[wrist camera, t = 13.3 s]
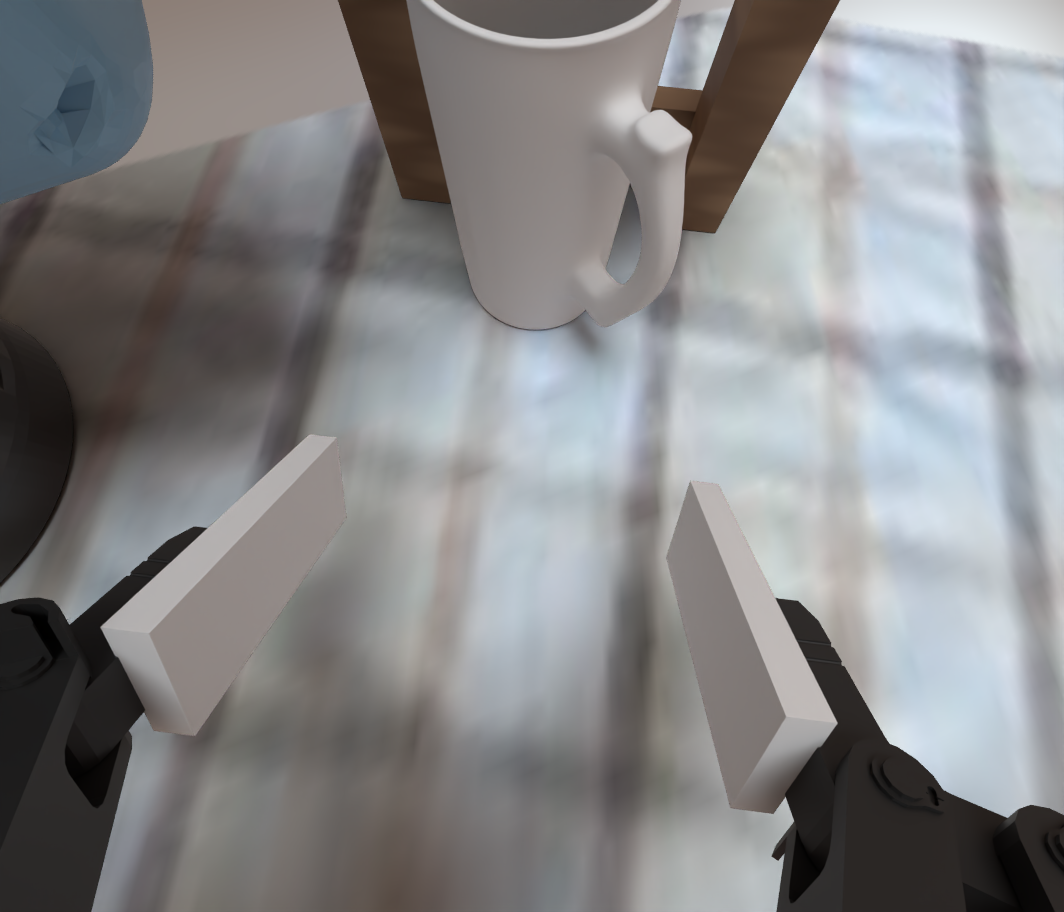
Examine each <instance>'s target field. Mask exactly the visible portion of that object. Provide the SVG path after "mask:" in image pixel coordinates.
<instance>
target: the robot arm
mask: <svg viewBox="0 0 1064 912" xmlns="http://www.w3.org/2000/svg"><path fill="white" fill-rule="evenodd" d="M152 88H153V62H152V54H151V46H150V38H149V32H148V27H147V22H146V18H145V14H144V9H143V5H142V0H0V204H3V203H6V202H9V201H12V200H15V199H18V198H21V197H24V196H27V195H30V194H33V193H36V192H39V191H43V190H46V189H49V188H52V187H55V186H58V185H61V184H64V183H67V182H70V181H73V180H76V179H79V178H82V177H85V176H88V175H91V174H94V173H96V172H99V171H101V170H103V169H105V168H107V167H109V166H111V165H112V164H114V163H116V162H117V161H118V160H119V159H121V158H122V157H123V156H124V155H126V154H127V153H128V151H129V150H130V149H131V148H132V147H133V145H134V144H135V143H136V142H137V140H138V139H139V137H140V135H141V133H142V131H143V129H144V127H145V124H146V122H147V119H148V115H149V111H150V107H151V102H152ZM72 441H73V417H72V409H71V402H70V398H69V394H68V390H67V387H66V384H65V381H64V379H63V377H62V375H61V372H60V371H59V369H58V367H57V365H56V363H55V362H54V360H53V359H52V358H51V356H50V355H49V353H48V352H47V351H46V350H45V349H44V348H43V347H42V345H41V344H39V343H38V342H37V341H36V340H35V339H34V338H33V337H32V336H30V335H29V334H28V333H27V332H25V331H24V330H22V329H20V328H19V327H17V326H16V325H14V324H12V323H10V322H8V321H6V320H4V319H2V318H0V582H1V581H2V580H3V579H4V578H5V577H6V576H7V575H8V574H9V573H10V572H11V571H12V569H13V568H14V567H15V566H16V565H17V564H18V562H19V561H20V560H21V559H22V557H23V556H24V555H25V554H26V552H27V551H28V550H29V548H30V547H31V545H32V544H33V542H34V541H35V539H36V538H37V537H38V535H39V533H40V532H41V530H42V528H43V527H44V525H45V523H46V522H47V520H48V518H49V516H50V514H51V512H52V510H53V508H54V506H55V504H56V501H57V499H58V497H59V494H60V492H61V489H62V486H63V483H64V480H65V477H66V473H67V470H68V466H69V461H70V456H71V449H72ZM346 518H347V517H346V508H345V500H344V492H343V484H342V475H341V467H340V459H339V451H338V443H337V438H336V437H328V436H320V435H312V434H309V435H308V436H307V437H306V438H305V439H304V440H303V441H302V442H301V443H300V444H298V445H297V446H296V447H295V448H294V449H293V450H292V451H291V452H290V453H289V454H288V455H287V456H285V457H284V458H283V459H282V460H281V461H280V462H279V463H278V464H277V465H276V466H275V467H274V468H272V469H271V470H270V471H269V472H268V473H267V474H266V475H265V476H264V477H263V478H262V479H261V480H259V481H258V482H257V483H256V484H255V485H254V486H253V487H252V488H251V489H250V490H249V491H247V492H246V493H245V494H244V495H243V496H242V497H241V498H240V499H239V500H238V501H237V502H236V503H234V504H233V505H232V506H231V507H230V508H229V509H228V510H227V511H226V512H225V513H224V514H223V515H221V516H220V517H219V518H218V519H217V520H216V521H215V522H214V523H213V524H212V525H211V526H210V527H208V528H202V527H192V528H190V529H188V530H187V531H185V532H183V533H181V534H179V535H177V536H175V537H173V538H171V539H169V540H168V541H166V542H165V543H164V544H163V545H162V546H161V547H159V548H158V549H157V550H156V551H155V552H154V553H152V554H151V555H150V556H149V557H148V560H147V561H143V562H142V563H141V564H140V565H139V566H137V567H136V568H135V569H134V570H133V571H132V572H131V575H130V576H126V577H125V578H123V579H122V580H121V581H120V582H119V583H118V584H116V585H115V586H114V587H113V588H112V589H111V590H110V591H108V592H107V593H106V594H105V595H104V596H103V597H101V598H100V599H99V600H98V601H97V602H96V603H94V604H93V605H92V606H91V607H90V608H89V609H87V610H86V611H85V612H84V613H83V614H82V615H80V616H79V617H78V618H77V619H76V620H75V621H74V622H72V623H71V624H70V625H69V624H68V622H67V620H66V618H65V616H64V615H63V613H62V611H61V609H60V608H59V607H58V606H57V605H56V604H55V602H54V601H52V600H47V599H43V598H28V599H18V600H14V601H10V602H7V603H3V604H0V912H91V910H92V906H93V902H94V898H95V894H96V890H97V886H98V882H99V878H100V874H101V870H102V866H103V862H104V858H105V854H106V850H107V846H108V842H109V838H110V834H111V830H112V826H113V822H114V818H115V814H116V810H117V806H118V802H119V798H120V794H121V790H122V786H123V782H124V778H125V774H126V770H127V766H128V762H129V758H130V754H131V750H132V736H131V734H130V732H129V729H130V728H131V727H132V726H133V724H134V723H135V722H136V721H137V720H138V718H139V717H140V716H141V715H142V713H143V712H144V713H145V715H146V717H147V719H148V720H149V722H150V724H151V726H152V728H153V730H154V731H159V732H167V733H174V734H182V735H189V736H195V735H196V734H197V733H198V731H199V730H200V728H201V727H202V725H203V724H204V722H205V721H206V720H207V718H208V717H209V715H210V714H211V712H212V711H213V709H214V708H215V707H216V705H217V704H218V702H219V701H220V699H221V698H222V697H223V695H224V694H225V692H226V691H227V689H228V688H229V686H230V685H231V684H232V682H233V681H234V679H235V678H236V676H237V675H238V673H239V672H240V671H241V669H242V668H243V666H244V665H245V663H246V662H247V660H248V659H249V658H250V656H251V655H252V653H253V652H254V650H255V649H256V647H257V646H258V645H259V643H260V642H261V640H262V639H263V637H264V636H265V635H266V633H267V632H268V630H269V629H270V627H271V626H272V624H273V623H274V622H275V620H276V619H277V617H278V616H279V614H280V613H281V611H282V610H283V609H284V607H285V606H286V604H287V603H288V601H289V600H290V598H291V597H292V596H293V594H294V593H295V591H296V590H297V588H298V587H299V585H300V584H301V583H302V581H303V580H304V578H305V577H306V575H307V574H308V573H309V571H310V570H311V568H312V567H313V565H314V564H315V562H316V561H317V560H318V558H319V557H320V555H321V554H322V552H323V551H324V549H325V548H326V547H327V545H328V544H329V542H330V541H331V539H332V538H333V536H334V535H335V534H336V532H337V531H338V529H339V528H340V526H341V525H342V523H343V522H344V521H345V519H346ZM666 558H667V562H668V566H669V570H670V574H671V578H672V582H673V586H674V589H675V593H676V597H677V601H678V605H679V609H680V613H681V617H682V621H683V625H684V629H685V632H686V636H687V640H688V644H689V648H690V652H691V656H692V660H693V664H694V668H695V672H696V675H697V679H698V683H699V687H700V691H701V695H702V699H703V703H704V707H705V711H706V714H707V718H708V722H709V726H710V730H711V734H712V738H713V742H714V746H715V750H716V754H717V757H718V761H719V765H720V769H721V773H722V777H723V781H724V785H725V789H726V793H727V796H728V800H729V804H730V808H734V809H741V810H749V811H756V812H764V813H771V814H774V812H775V811H776V809H777V808H778V807H779V805H780V804H781V802H782V801H783V800H784V798H785V797H786V799H787V802H788V804H789V807H790V810H791V813H792V816H793V819H794V823H793V824H792V825H791V826H790V828H789V829H788V830H787V832H786V833H785V834H784V836H783V837H782V838H781V840H780V841H779V842H778V843H777V845H776V847H775V849H774V852H773V854H772V857H773V858H775V859H776V860H779V859H780V858H781V857H782V855H783V854H784V853H785V855H784V862H783V869H782V876H781V883H780V891H779V898H778V905H777V912H1064V815H1062V814H1060V813H1058V812H1056V811H1054V810H1052V809H1050V808H1044V807H1039V806H1034V805H1029V806H1026V807H1023V808H1020V809H1018V810H1017V811H1016V812H1015V813H1013V814H1012V815H1011V816H1010V817H1009V818H1006V817H1004V816H1001V815H999V814H997V813H994V812H992V811H990V810H987V809H985V808H983V807H980V806H978V805H975V804H973V803H971V802H968V801H966V800H964V799H961V798H959V797H957V796H954V795H952V794H950V793H948V792H946V791H944V790H943V789H942V788H941V786H940V785H939V783H938V782H937V780H936V779H935V778H934V776H933V775H932V774H931V773H930V772H929V771H928V770H927V769H926V768H925V767H924V766H923V765H921V764H920V763H919V762H918V761H917V760H916V759H915V758H913V757H912V756H910V755H909V754H907V753H906V752H904V751H903V750H901V749H900V748H898V747H896V746H894V745H891V744H889V742H888V741H887V739H886V738H885V736H884V735H883V733H882V731H881V729H880V728H879V726H878V724H877V722H876V721H875V719H874V717H873V715H872V714H871V712H870V710H869V708H868V707H867V705H866V703H865V701H864V700H863V698H862V696H861V694H860V693H859V691H858V689H857V687H856V686H855V684H854V682H853V680H852V679H851V677H850V675H849V673H848V672H847V670H846V668H845V666H842V665H841V662H842V661H841V659H840V658H839V656H838V654H837V652H836V651H835V649H834V648H833V647H831V642H830V640H829V638H828V637H827V635H826V633H825V631H824V630H823V628H822V626H821V624H820V623H819V621H818V620H817V619H816V618H815V617H814V616H813V615H812V614H811V613H810V612H809V611H808V610H807V609H806V608H805V607H804V606H803V605H802V604H801V603H800V602H799V601H794V600H786V599H778V598H775V597H774V595H773V593H772V591H771V589H770V587H769V585H768V583H767V581H766V579H765V577H764V575H763V573H762V571H761V569H760V567H759V565H758V563H757V561H756V559H755V557H754V555H753V553H752V551H751V548H750V546H749V544H748V542H747V540H746V538H745V536H744V534H743V532H742V530H741V528H740V526H739V524H738V522H737V520H736V518H735V516H734V514H733V512H732V510H731V508H730V506H729V504H728V502H727V500H726V498H725V496H724V494H723V492H722V490H721V488H720V486H719V484H714V483H706V482H698V481H690V483H689V486H688V489H687V493H686V496H685V499H684V502H683V505H682V509H681V512H680V515H679V518H678V522H677V525H676V528H675V531H674V534H673V538H672V541H671V544H670V547H669V550H668V554H667V557H666Z"/></svg>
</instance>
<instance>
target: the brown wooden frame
mask: <svg viewBox="0 0 1064 912" xmlns="http://www.w3.org/2000/svg"><path fill="white" fill-rule="evenodd" d="M839 1H840V0H735V1H734V4H733V7H732V10H731V13H730V15H729V18H728V21H727V24H726V27H725V29H724V32H723V35H722V38H721V41H720V43H719V46H718V49H717V52H716V55H715V58H714V60H713V63H712V66H711V69H710V72H709V74H708V77H707V80H706V83H705V86H704V88H703V91H702V90H692V89H683V88H673V87H664V86H658V87H657V90H656V94H655V97H654V101H653V104H652V108H651V111H650V112H653V111H655V110H664V111H666V112H667V113H668V114H670V115H671V116H672V117H673V118H674V119H675V120H676V121H677V122H678V123H679V124H680V125H682V126H683V127H685V128H686V129H688V130H689V131H690V132H691V134H692V141H691V144H690V147H689V150H688V153H687V158H686V166H685V189H684V212H683V224H682V229H684V230H693V231H702V232H711V233H715V232H716V231H717V229H718V227H719V225H720V223H721V221H722V219H723V218H724V216H725V214H726V212H727V210H728V208H729V206H730V204H731V203H732V201H733V199H734V197H735V195H736V193H737V191H738V190H739V188H740V186H741V184H742V182H743V180H744V178H745V176H746V175H747V173H748V171H749V169H750V167H751V165H752V163H753V162H754V160H755V158H756V156H757V154H758V152H759V150H760V149H761V147H762V145H763V143H764V141H765V139H766V137H767V135H768V134H769V132H770V130H771V128H772V126H773V124H774V122H775V121H776V119H777V117H778V115H779V113H780V111H781V109H782V107H783V106H784V104H785V102H786V100H787V98H788V96H789V94H790V93H791V91H792V89H793V87H794V85H795V83H796V81H797V79H798V78H799V76H800V74H801V72H802V70H803V68H804V66H805V65H806V63H807V61H808V59H809V57H810V55H811V53H812V52H813V50H814V48H815V46H816V44H817V42H818V40H819V38H820V37H821V35H822V33H823V31H824V29H825V27H826V25H827V24H828V22H829V20H830V18H831V16H832V14H833V12H834V10H835V9H836V7H837V5H838V3H839ZM338 2H339V5H340V8H341V11H342V14H343V17H344V20H345V23H346V26H347V30H348V32H349V36H350V39H351V42H352V45H353V48H354V51H355V54H356V57H357V60H358V63H359V66H360V70H361V72H362V75H363V79H364V82H365V85H366V88H367V91H368V94H369V97H370V100H371V103H372V106H373V110H374V113H375V116H376V119H377V122H378V125H379V128H380V131H381V134H382V137H383V140H384V143H385V146H386V150H387V153H388V156H389V159H390V162H391V165H392V168H393V171H394V174H395V177H396V180H397V183H398V186H399V190H400V193H401V196H402V198H407V199H416V200H425V201H434V202H443V203H451V200H450V195H449V191H448V187H447V182H446V178H445V174H444V169H443V165H442V161H441V156H440V152H439V148H438V143H437V139H436V135H435V131H434V126H433V122H432V118H431V113H430V109H429V105H428V100H427V96H426V92H425V88H424V83H423V79H422V74H421V70H420V66H419V61H418V57H417V52H416V48H415V43H414V38H413V33H412V28H411V22H410V17H409V12H408V7H407V1H406V0H338ZM630 185H631V184H630Z"/></svg>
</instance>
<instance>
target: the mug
mask: <svg viewBox="0 0 1064 912" xmlns="http://www.w3.org/2000/svg"><path fill="white" fill-rule="evenodd" d="M406 1H407V7H408V12H409V17H410V22H411V28H412V33H413V38H414V43H415V48H416V52H417V57H418V61H419V66H420V70H421V74H422V79H423V83H424V88H425V92H426V96H427V100H428V105H429V109H430V113H431V118H432V122H433V126H434V131H435V135H436V139H437V143H438V148H439V152H440V156H441V161H442V165H443V169H444V174H445V178H446V182H447V187H448V191H449V195H450V200H451V204H452V209H453V213H454V218H455V222H456V226H457V231H458V236H459V240H460V244H461V248H462V252H463V256H464V260H465V264H466V267H467V271H468V275H469V280H470V283H471V287H472V289H473V292H474V294H475V296H476V298H477V299H478V301H479V302H480V304H481V305H482V306H483V307H484V308H485V309H486V310H487V311H488V312H489V313H490V314H491V315H492V316H494V317H495V318H497V319H498V320H500V321H502V322H504V323H506V324H509V325H511V326H514V327H518V328H523V329H531V330H541V329H549V328H554V327H558V326H561V325H563V324H566V323H568V322H570V321H572V320H573V319H575V318H577V317H578V316H579V315H581V314H582V313H583V312H584V311H585V310H586V311H587V312H588V314H589V315H590V316H591V318H592V319H593V320H594V321H595V323H596V324H597V325H599V326H601V327H608V326H611V325H613V324H615V323H617V322H619V321H621V320H623V319H624V318H626V317H628V316H630V315H632V314H634V313H636V312H637V311H639V310H641V309H643V308H644V307H646V306H647V305H649V304H650V303H651V302H652V301H654V300H655V299H656V298H657V296H658V295H659V294H660V293H661V292H662V290H663V289H664V287H665V286H666V284H667V282H668V281H669V278H670V276H671V274H672V271H673V269H674V266H675V263H676V259H677V256H678V251H679V246H680V240H681V233H682V224H683V212H684V189H685V166H686V158H687V153H688V150H689V147H690V144H691V141H692V134H691V132H690V131H689V130H688V129H686V128H685V127H683V126H682V125H680V124H679V123H678V122H677V121H676V120H675V119H674V118H673V117H672V116H671V115H670V114H668V113H667V112H666V111H664V110H655V111H653V112H650V111H651V108H652V104H653V101H654V97H655V94H656V90H657V87H658V83H659V80H660V76H661V73H662V69H663V65H664V62H665V58H666V55H667V51H668V48H669V44H670V40H671V37H672V33H673V29H674V26H675V22H676V18H677V14H678V10H679V6H680V2H681V0H406ZM630 184H631V186H632V189H633V192H634V194H635V197H636V201H637V205H638V209H639V214H640V220H641V229H642V244H641V252H640V257H639V261H638V264H637V266H636V269H635V271H634V273H633V274H632V276H631V277H630V279H629V280H628V281H627V282H626V283H625V284H620V283H618V282H616V281H615V280H614V279H613V278H612V277H611V276H610V275H609V273H608V272H607V271H606V270H605V269H606V266H607V263H608V260H609V256H610V253H611V249H612V245H613V242H614V238H615V235H616V231H617V227H618V224H619V220H620V217H621V213H622V209H623V206H624V202H625V199H626V195H627V192H628V188H629V185H630Z"/></svg>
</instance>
